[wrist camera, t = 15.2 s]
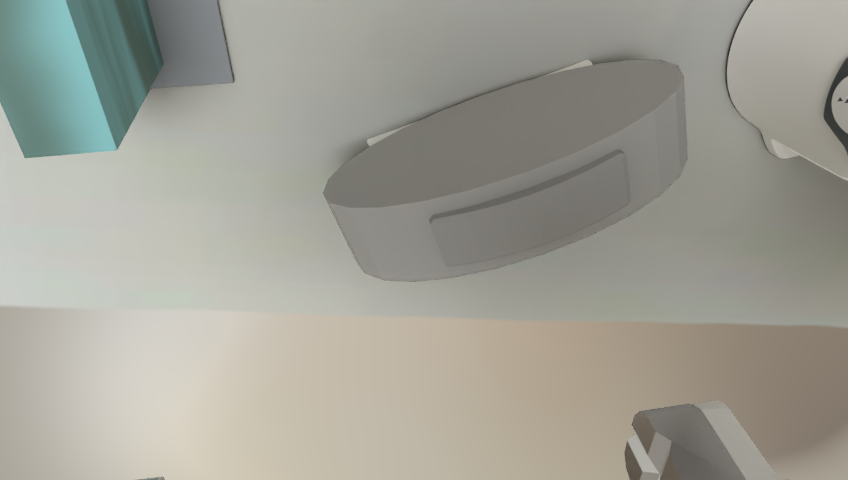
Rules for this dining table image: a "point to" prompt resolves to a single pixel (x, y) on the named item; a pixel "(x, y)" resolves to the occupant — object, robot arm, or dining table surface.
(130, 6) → the teal tag
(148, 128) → the dining table surface
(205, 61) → the slate mat
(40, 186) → the dining table surface
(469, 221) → the alarm clock
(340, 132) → the dining table surface
